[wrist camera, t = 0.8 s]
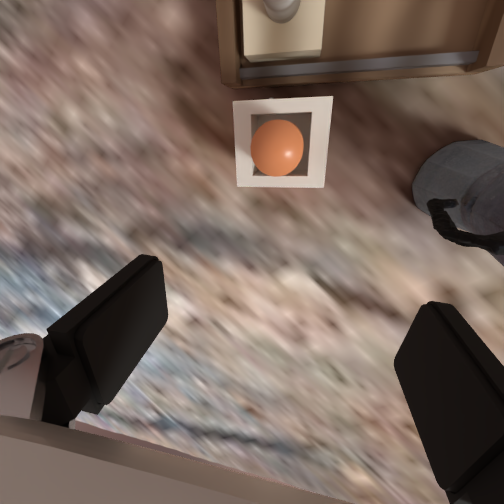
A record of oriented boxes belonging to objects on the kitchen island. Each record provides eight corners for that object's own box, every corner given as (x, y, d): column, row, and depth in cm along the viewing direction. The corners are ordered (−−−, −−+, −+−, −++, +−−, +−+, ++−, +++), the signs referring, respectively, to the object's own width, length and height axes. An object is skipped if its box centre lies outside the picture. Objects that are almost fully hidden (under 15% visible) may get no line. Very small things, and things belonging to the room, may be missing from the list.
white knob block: (325, 98, 27) (334, 87, 19) (318, 169, 31) (323, 187, 22) (254, 102, 29) (232, 93, 20) (255, 169, 32) (237, 186, 24)
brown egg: (305, 119, 21) (305, 118, 17) (302, 168, 23) (301, 176, 19) (258, 120, 22) (249, 120, 18) (259, 168, 23) (251, 176, 20)
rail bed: (529, -99, 19) (586, -156, 15) (474, 74, 24) (507, 64, 20) (225, -49, 24) (209, -83, 20) (232, 88, 29) (221, 83, 25)
